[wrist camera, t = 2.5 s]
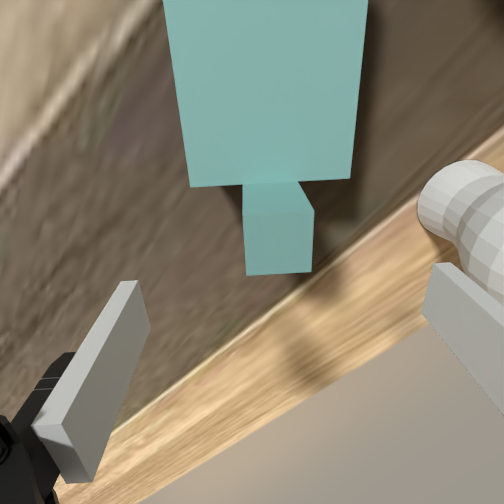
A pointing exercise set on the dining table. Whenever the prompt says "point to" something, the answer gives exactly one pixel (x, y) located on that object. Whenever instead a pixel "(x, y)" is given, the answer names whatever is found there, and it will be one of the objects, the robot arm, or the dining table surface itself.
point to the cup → (469, 219)
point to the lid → (268, 109)
